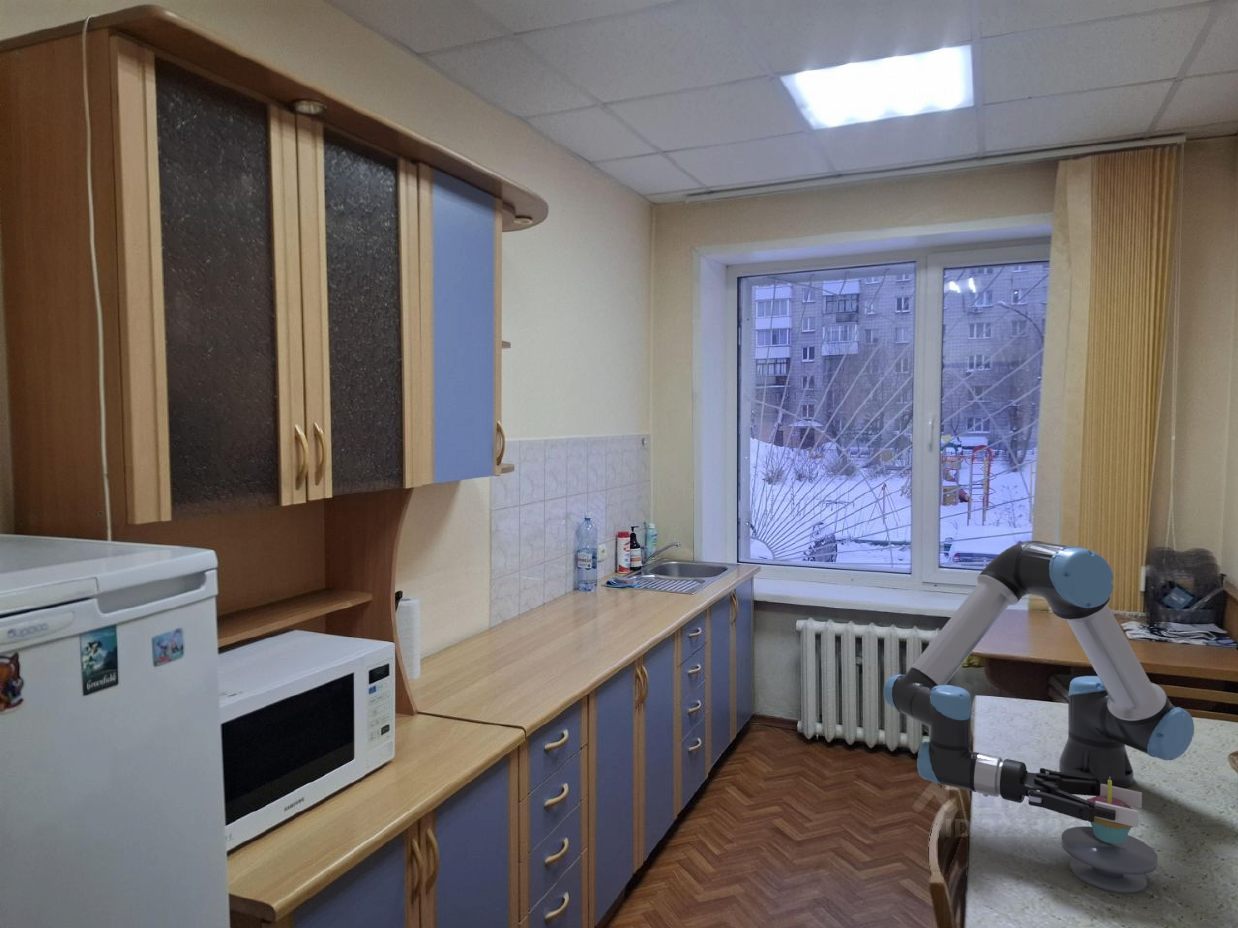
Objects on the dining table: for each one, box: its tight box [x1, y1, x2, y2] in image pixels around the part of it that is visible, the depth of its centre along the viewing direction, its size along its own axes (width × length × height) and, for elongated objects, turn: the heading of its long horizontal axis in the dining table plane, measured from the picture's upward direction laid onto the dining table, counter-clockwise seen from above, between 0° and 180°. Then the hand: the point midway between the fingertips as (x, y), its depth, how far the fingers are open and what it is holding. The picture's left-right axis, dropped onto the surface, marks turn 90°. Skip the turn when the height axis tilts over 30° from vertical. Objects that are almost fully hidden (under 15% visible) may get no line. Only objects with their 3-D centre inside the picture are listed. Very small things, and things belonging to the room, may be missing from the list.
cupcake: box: [1086, 777, 1134, 844], centre depth 148 cm, size 9×8×12 cm
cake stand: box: [1061, 825, 1159, 895], centre depth 148 cm, size 15×15×5 cm
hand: (1139, 809), depth 145 cm, fingers closed on cupcake, 8 cm apart
